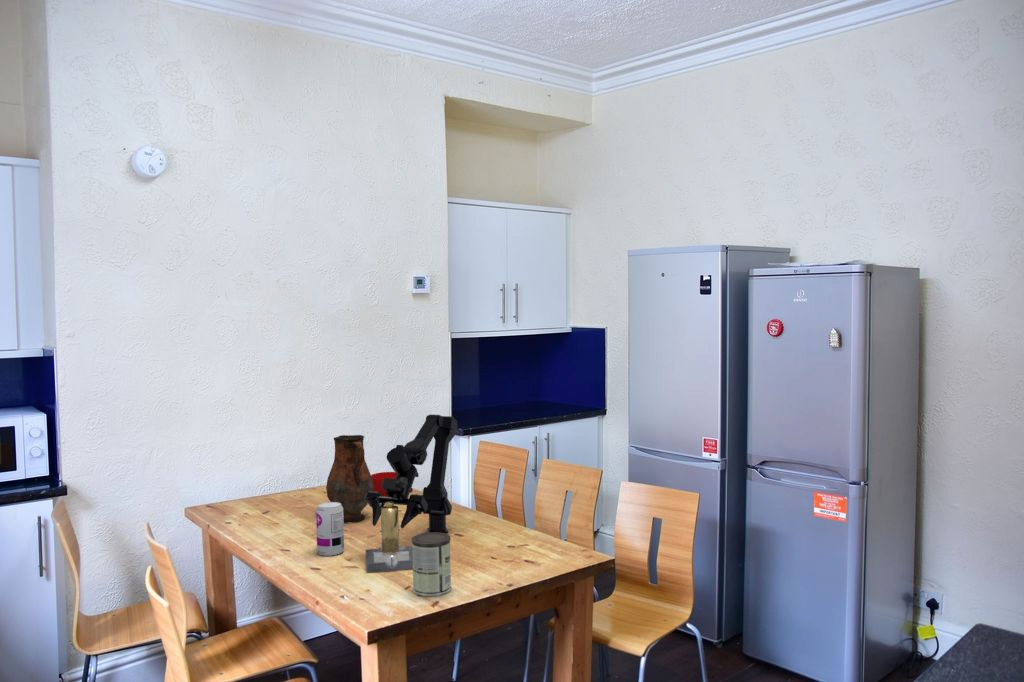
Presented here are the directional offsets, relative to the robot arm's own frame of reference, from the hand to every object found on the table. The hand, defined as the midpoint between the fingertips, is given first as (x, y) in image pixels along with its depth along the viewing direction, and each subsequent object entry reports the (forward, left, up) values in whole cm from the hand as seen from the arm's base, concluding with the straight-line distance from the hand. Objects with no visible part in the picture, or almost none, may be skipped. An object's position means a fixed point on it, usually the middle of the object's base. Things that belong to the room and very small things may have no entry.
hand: (387, 526), depth 230 cm
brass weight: (-1, +1, -8) cm, 8 cm away
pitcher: (-52, -10, -11) cm, 54 cm away
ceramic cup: (-79, +2, -11) cm, 80 cm away
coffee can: (+25, +10, -11) cm, 29 cm away
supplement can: (-15, -17, -11) cm, 25 cm away
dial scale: (0, +1, -11) cm, 11 cm away
